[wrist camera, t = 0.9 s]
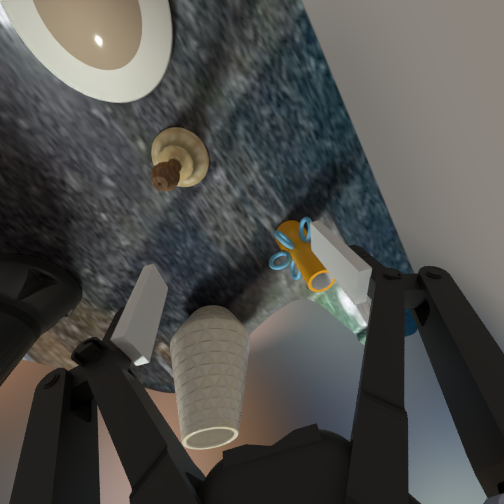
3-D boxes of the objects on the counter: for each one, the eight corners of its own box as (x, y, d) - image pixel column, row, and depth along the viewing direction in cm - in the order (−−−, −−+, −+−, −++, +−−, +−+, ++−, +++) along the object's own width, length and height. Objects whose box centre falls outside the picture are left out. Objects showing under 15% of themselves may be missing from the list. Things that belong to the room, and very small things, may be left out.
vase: (221, 348, 58) (226, 459, 39) (162, 331, 50) (131, 459, 31) (259, 310, 52) (286, 419, 33) (198, 284, 44) (187, 406, 25)
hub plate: (40, 92, 25) (30, 90, 24) (-44, -155, 17) (-67, -179, 15) (178, 111, 28) (176, 111, 27) (165, -88, 20) (162, -103, 18)
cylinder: (267, 203, 37) (295, 243, 25) (320, 204, 39) (370, 243, 27) (260, 258, 43) (279, 313, 31) (305, 257, 45) (341, 309, 33)
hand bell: (158, 115, 28) (109, 108, 15) (216, 143, 31) (219, 160, 18) (146, 173, 31) (98, 211, 18) (199, 194, 34) (190, 239, 21)
